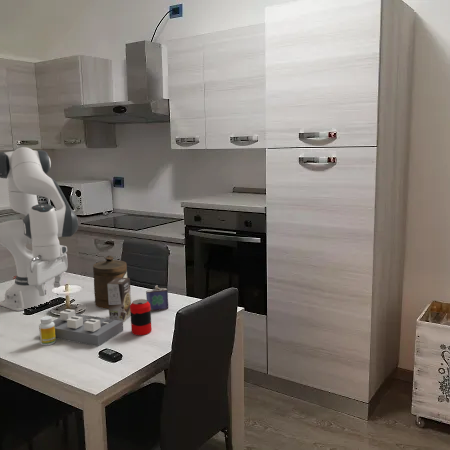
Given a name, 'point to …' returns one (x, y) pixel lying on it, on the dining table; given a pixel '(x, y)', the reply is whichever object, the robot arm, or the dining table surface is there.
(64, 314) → the slider
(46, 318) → the supplement bottle
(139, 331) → the soda can
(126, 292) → the coffee box
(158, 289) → the flask
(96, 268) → the wooden container
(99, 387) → the dining table surface
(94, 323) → the slider
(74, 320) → the slider
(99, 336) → the switch panel
